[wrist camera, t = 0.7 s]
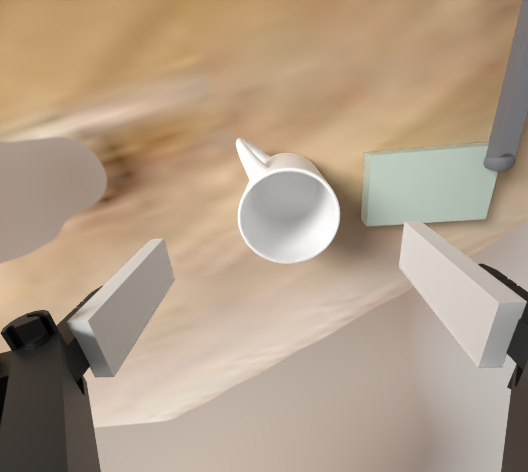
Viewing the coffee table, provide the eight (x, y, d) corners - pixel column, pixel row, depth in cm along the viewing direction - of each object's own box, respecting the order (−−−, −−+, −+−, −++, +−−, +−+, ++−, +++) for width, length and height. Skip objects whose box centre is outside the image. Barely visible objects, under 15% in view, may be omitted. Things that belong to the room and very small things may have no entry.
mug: (276, 108, 29) (275, 104, 19) (335, 195, 32) (359, 229, 23) (216, 158, 31) (188, 177, 21) (277, 234, 35) (277, 280, 25)
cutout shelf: (384, -174, 20) (407, -239, 17) (570, -208, 19) (640, -285, 16) (360, 219, 33) (371, 232, 30) (471, 211, 32) (497, 224, 28)
